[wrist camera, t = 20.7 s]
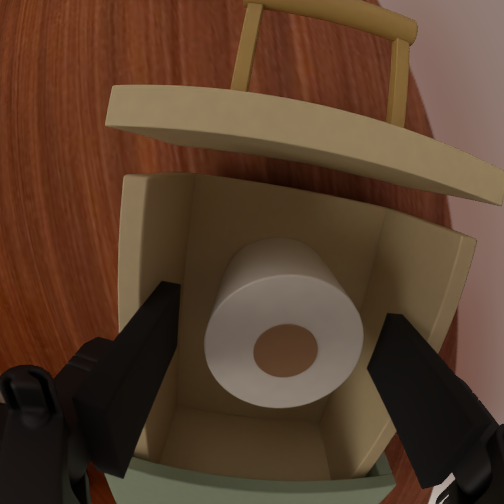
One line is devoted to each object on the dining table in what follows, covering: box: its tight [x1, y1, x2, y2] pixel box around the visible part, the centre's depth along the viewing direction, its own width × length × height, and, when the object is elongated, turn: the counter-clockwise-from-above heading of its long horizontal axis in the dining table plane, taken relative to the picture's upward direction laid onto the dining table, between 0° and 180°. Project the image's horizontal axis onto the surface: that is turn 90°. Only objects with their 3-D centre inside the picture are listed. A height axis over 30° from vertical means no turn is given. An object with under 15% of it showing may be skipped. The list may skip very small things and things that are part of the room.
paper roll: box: [204, 237, 364, 408], centre depth 13 cm, size 6×6×6 cm
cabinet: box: [104, 451, 396, 504], centre depth 17 cm, size 19×14×10 cm
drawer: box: [105, 0, 504, 481], centre depth 12 cm, size 24×12×8 cm, turn 171°
